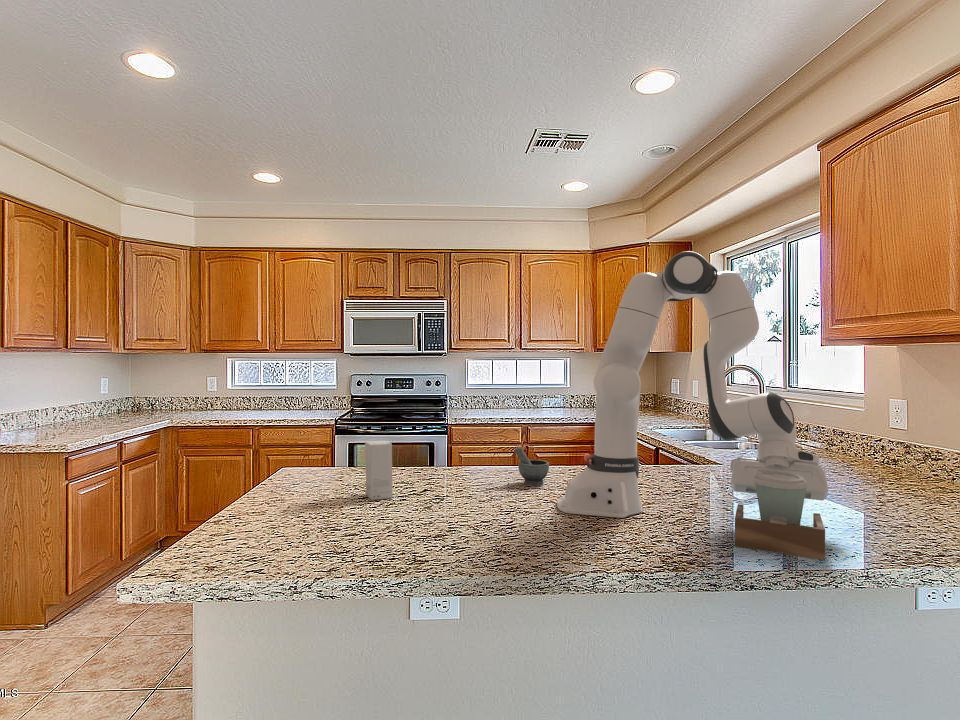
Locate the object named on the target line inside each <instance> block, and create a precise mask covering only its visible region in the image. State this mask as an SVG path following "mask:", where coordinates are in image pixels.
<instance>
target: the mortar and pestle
mask: <svg viewBox="0 0 960 720" xmlns="http://www.w3.org/2000/svg"><path fill="white" fill-rule="evenodd" d="M514 453H516V455H517V458H518V460H519V461H518V471H519V474H520V476H521V477H522V478H523V479H524V480H523V485H525V486H527V487H541V486H544V479H545V478H546V477H547V475H548V474H549V470H550V462H549V461H547V460H541V459H529V458H528V456H527V454H526V453H525V452H524V448H523V446H521V445H520V446H518V447H516V448H514Z"/></svg>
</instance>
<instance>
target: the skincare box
mask: <svg viewBox="0 0 960 720" xmlns="http://www.w3.org/2000/svg"><path fill="white" fill-rule="evenodd" d="M364 447H365V448H364V449H365V455H364V457H365V494H366V496H367V497H368V498H369V499H370V500H371V501H377V500H378V501H379V500H387V499H393V496H394V495H393V494H394V493H393V492H394V491H393V444H392V442H390V441H387V440H375V441H373V440H372V441H365V442H364Z"/></svg>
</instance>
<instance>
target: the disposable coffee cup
mask: <svg viewBox="0 0 960 720" xmlns="http://www.w3.org/2000/svg"><path fill="white" fill-rule="evenodd" d="M753 482H755V485H756V492H757V494H756V498H757V503H758V510H759V516H760V520H763V521H770V516H776V517H784V518H787V524H795V525H801V522H802V515H803V509H804V504H805V499H804V498H805V492H806V487H807V482H806V480H805V479H804V478H803V477H802V476H799V475H797V474H794V473H790V472H786V471H780V470H774V469H760V470H757V472H756V475H755V476H754V480H753Z"/></svg>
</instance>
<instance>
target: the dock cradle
mask: <svg viewBox="0 0 960 720" xmlns="http://www.w3.org/2000/svg"><path fill="white" fill-rule="evenodd" d="M812 517H813V518H812V520H813V521H812V524H813V525H812V526H809V525H808V526H807V525H801V524H800V525H795V524H787V518H784V517H776V516H770V521H763V520H761V519H754V518H746V517H744V504H741V503H740V504H739V503H738V504H737V507H736V511H735V515H734V547H737V548H744V549H749V548H750V549H751V550H757V551H763V552H771V553H778V554H783V555H791V556H795V557H803V558H808V559H816V560H821V561H822V560H823V561H825V560H826V528H825V526H824V523H823V520H822V516H821V513H815V512H813V516H812Z"/></svg>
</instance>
